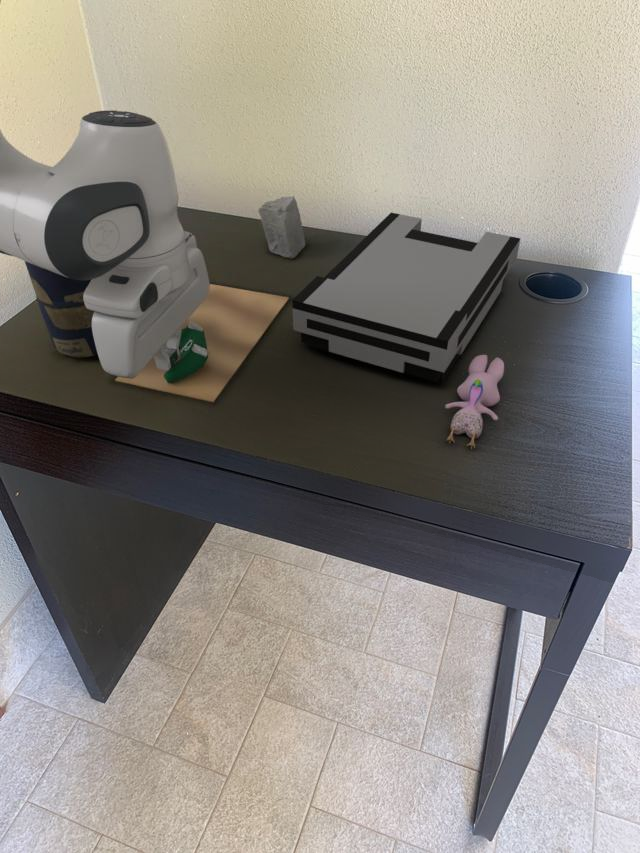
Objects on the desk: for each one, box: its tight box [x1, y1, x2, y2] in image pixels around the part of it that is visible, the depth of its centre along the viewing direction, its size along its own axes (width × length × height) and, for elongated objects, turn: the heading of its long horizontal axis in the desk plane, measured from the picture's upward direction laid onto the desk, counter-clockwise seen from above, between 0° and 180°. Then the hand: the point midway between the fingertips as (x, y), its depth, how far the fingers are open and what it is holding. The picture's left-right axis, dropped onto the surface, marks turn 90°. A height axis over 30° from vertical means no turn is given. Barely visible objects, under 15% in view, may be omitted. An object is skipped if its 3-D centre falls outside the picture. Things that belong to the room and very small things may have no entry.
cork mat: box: [114, 283, 290, 403], centre depth 95 cm, size 26×14×1 cm, turn 161°
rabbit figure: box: [444, 354, 505, 450], centre depth 81 cm, size 6×6×15 cm
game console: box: [291, 212, 521, 385], centre depth 96 cm, size 21×32×8 cm, turn 152°
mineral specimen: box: [258, 195, 306, 260], centre depth 112 cm, size 7×9×8 cm
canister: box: [24, 261, 98, 358], centre depth 88 cm, size 10×10×18 cm
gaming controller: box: [164, 321, 208, 383], centre depth 89 cm, size 9×4×6 cm
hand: (168, 363), depth 86 cm, fingers closed
